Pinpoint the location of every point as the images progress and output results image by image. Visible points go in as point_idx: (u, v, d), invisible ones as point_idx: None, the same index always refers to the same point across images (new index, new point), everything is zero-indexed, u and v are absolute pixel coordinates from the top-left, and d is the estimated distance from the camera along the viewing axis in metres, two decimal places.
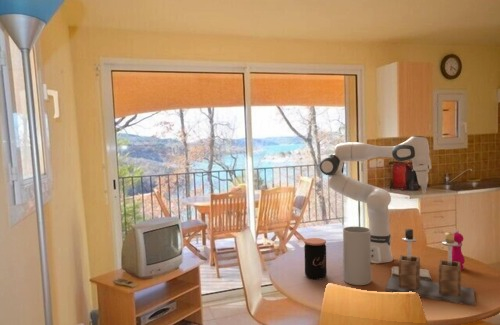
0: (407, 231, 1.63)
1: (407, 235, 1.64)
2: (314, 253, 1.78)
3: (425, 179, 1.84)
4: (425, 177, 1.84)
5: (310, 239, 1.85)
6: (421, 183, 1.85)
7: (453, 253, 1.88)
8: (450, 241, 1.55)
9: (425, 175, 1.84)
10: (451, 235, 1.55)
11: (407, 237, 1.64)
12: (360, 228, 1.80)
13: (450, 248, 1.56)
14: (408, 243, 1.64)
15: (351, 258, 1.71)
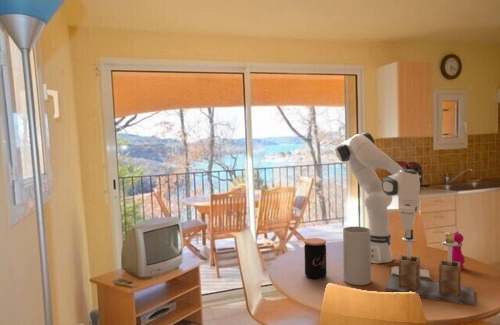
0: None
1: None
2: (314, 253, 1.78)
3: (410, 224, 1.55)
4: (410, 221, 1.55)
5: (310, 239, 1.85)
6: (405, 228, 1.56)
7: (453, 253, 1.88)
8: (450, 241, 1.55)
9: (411, 219, 1.55)
10: (451, 235, 1.55)
11: None
12: (360, 228, 1.80)
13: (450, 248, 1.56)
14: (408, 243, 1.64)
15: (351, 258, 1.71)
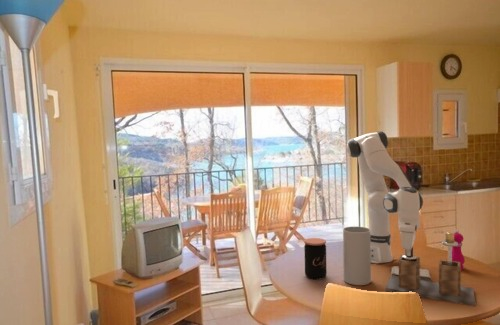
0: None
1: None
2: (314, 253, 1.78)
3: (410, 243, 1.55)
4: (410, 240, 1.55)
5: (310, 239, 1.85)
6: (405, 247, 1.56)
7: (453, 253, 1.88)
8: (450, 241, 1.55)
9: (411, 238, 1.55)
10: (451, 235, 1.55)
11: None
12: (360, 228, 1.80)
13: (450, 248, 1.56)
14: None
15: (351, 258, 1.71)
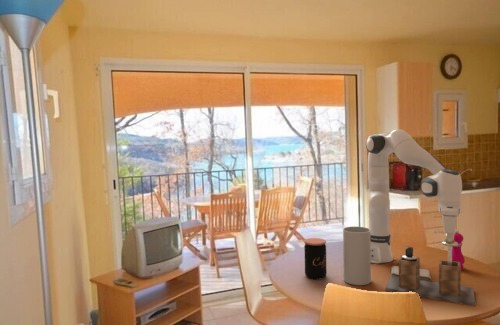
0: (407, 249, 1.64)
1: (407, 253, 1.64)
2: (314, 253, 1.78)
3: (454, 227, 1.47)
4: (454, 224, 1.47)
5: (310, 239, 1.85)
6: (448, 231, 1.48)
7: (453, 253, 1.88)
8: None
9: (454, 222, 1.47)
10: None
11: (407, 255, 1.64)
12: (360, 228, 1.80)
13: (450, 248, 1.56)
14: None
15: (351, 258, 1.71)
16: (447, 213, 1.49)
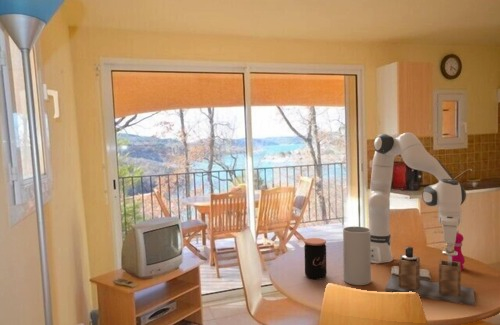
0: (407, 249, 1.64)
1: (407, 253, 1.64)
2: (314, 253, 1.78)
3: (454, 237, 1.47)
4: (454, 235, 1.47)
5: (310, 239, 1.85)
6: (448, 241, 1.48)
7: None
8: None
9: (454, 232, 1.47)
10: None
11: (407, 255, 1.64)
12: (360, 228, 1.80)
13: (450, 258, 1.56)
14: None
15: (351, 258, 1.71)
16: (447, 223, 1.49)
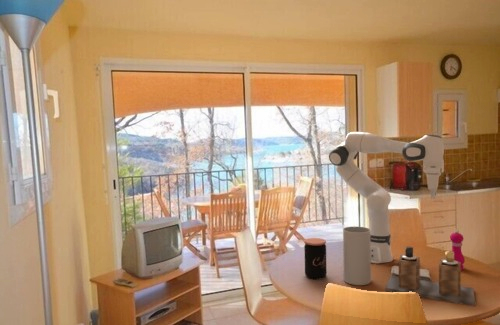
0: (407, 249, 1.64)
1: (407, 253, 1.64)
2: (314, 253, 1.78)
3: (436, 183, 1.66)
4: (436, 181, 1.66)
5: (310, 239, 1.85)
6: (431, 187, 1.67)
7: None
8: (450, 260, 1.56)
9: (436, 179, 1.66)
10: (451, 254, 1.56)
11: (407, 255, 1.64)
12: (360, 228, 1.80)
13: None
14: None
15: (351, 258, 1.71)
16: (430, 171, 1.68)
